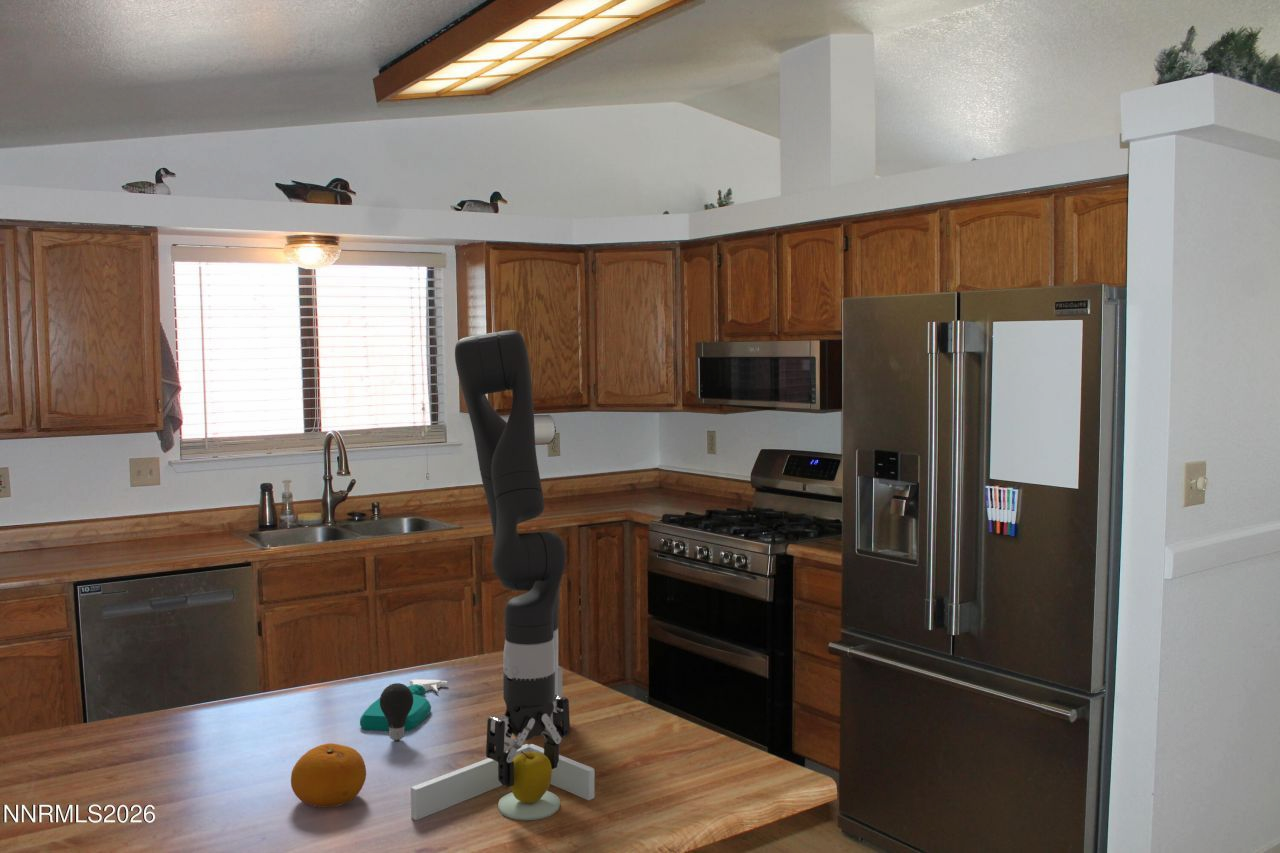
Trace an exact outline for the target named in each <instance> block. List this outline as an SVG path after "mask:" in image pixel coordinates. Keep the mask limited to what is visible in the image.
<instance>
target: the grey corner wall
mask: <svg viewBox="0 0 1280 853" xmlns="http://www.w3.org/2000/svg"><path fill="white" fill-rule="evenodd" d="M521 751H522V752H523V753H526V752H538V753H542V754H544V747H541V746H539V745H536V744H533V743H530V744H528V743H524V744H523V745H522V747H521V748H520V749H518V750H517V752H516V754H515V756H514V758H515V757H516V756H517V755H519V754H522V753H521ZM506 752H508V750H506ZM514 758H513V759H514ZM595 773H596V772H595V768H594V767H592V766H589V765H586V764H583V763H581V762H578V761H575V760H574V759H570V758H568V757H566V756H563V755H561V754H559V761H558V763H557V768H554V769H552V774H551V781H550V785H552V786H554V787H556V788H559V789H560V790H564V791H566V792H569V793H571V794H573V795H575V796H577V797H580V798H582V799H584V800H587V801H591V800H593V799H595ZM502 786H503V785H502V784H501V782H499V779H498V762H497V761H495V760H493V759H490V758H485V759H483V760H480V761H478V762H475V763H472V764H469V765H466V766H464V767H461V768H458V769H456V770H453V771H451V772H448V773H446V774H443V775H440V776H438V777H435V778H433V779H430V780H427V781H424V782H422V783H419V784H415V785H414V786H410V818H411V819H413V820H415V821H418V820H421V819H423V818H426V817H428V816H430V815H432V814H435V813H437V812H441V811H443V810H445V809H448V808H450V807H452V806H454V805H457V804H459V803H462V802H465V801H467V800H469V799H472V798H474V797H478V796H479V795H482V794H485V793H487V792H489V791H491V790H493V789H495V790H496V789H497V788H499V787H502Z"/></svg>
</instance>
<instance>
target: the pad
mask: <svg viewBox="0 0 1280 853" xmlns="http://www.w3.org/2000/svg"><path fill="white" fill-rule="evenodd" d="M497 803H498V807H497V808H498V812H499V813H500V814H501V815H502V816H504V817H505V818H508V819H510V820H516V821H527V822H529V821H537V820H542V819H546V818H549V817H552V816H553V815H555V814H556V813H557V812H558V811H559V809H560V806H561V800H560V798H559V797H558V795H556V794H555V793H553V792H551V791H548V790H547V791H546V792H545V794H544V795H543V796H542V797H541V798H540V799H539V800H538V801H537V802H534V803H523V802H521V801H519V800H517V799H516V798H515V797H514V795H513V792H509V793H507V794H505V795H503V796H502V797H501V798H499V800H498V802H497Z"/></svg>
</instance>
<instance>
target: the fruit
mask: <svg viewBox="0 0 1280 853" xmlns="http://www.w3.org/2000/svg"><path fill="white" fill-rule="evenodd" d="M366 777H367V769H366V764H365V761H364V758H363V756H362V755H361V753H359V752H358V750H356V749H354V748H353V747H350V746H347V745H344V744H343V745H342V744H338V743H324V744H320V745H318V746H316V747H314V748H311V749H309V750H308V751H307V752H305V753H304V754H303V755H302V756H301V757H300V758H299V759H297V762H295V764H294V766H293V768H292V771H291V776H290V786H291V789H292V791H293V793H294V795H295V797H297V799H299V800H300V801H301V802H302V803H303V802H304V803H305V804H307V805H309V806H313V807H317V808H318V807H319V808H326V807H327V808H328V807H329V808H330V807H336V806H341V805H344V804H347V803H349V802H351V801H352V800H354V799H355V798H356V797H357V796H358V795H359V793H360V792H361V790H362V789H363V786H364V785H365V782H366Z"/></svg>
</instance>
